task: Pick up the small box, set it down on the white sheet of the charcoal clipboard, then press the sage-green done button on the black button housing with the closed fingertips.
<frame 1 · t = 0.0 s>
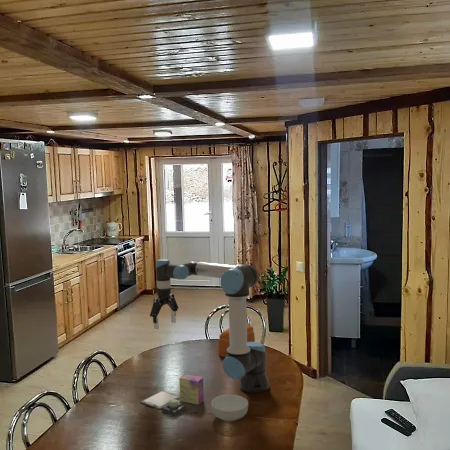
hand: (165, 325, 265), 28 cm above the table, fingers open, 13 cm apart
box: (191, 401, 235), on the table
bread: (236, 351, 303), on the table
cereal bowl: (230, 417, 218), on the table
done button: (173, 403, 224), point 4 cm above the table, slide at 0.0 cm
button housing: (174, 411, 225), on the table
clipboard: (161, 400, 236), on the table
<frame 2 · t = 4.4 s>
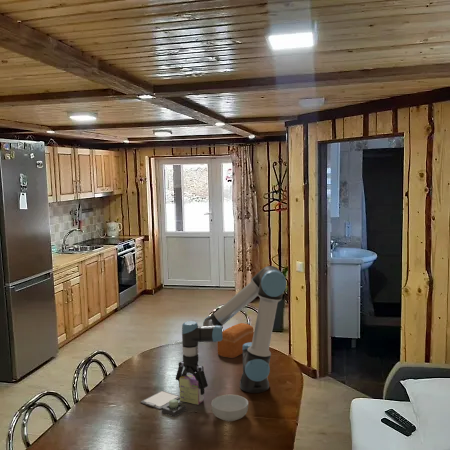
hand: (191, 397, 235), 2 cm above the table, fingers closed on box, 11 cm apart
box: (191, 401, 235), on the table, touching gripper
everything else where it was.
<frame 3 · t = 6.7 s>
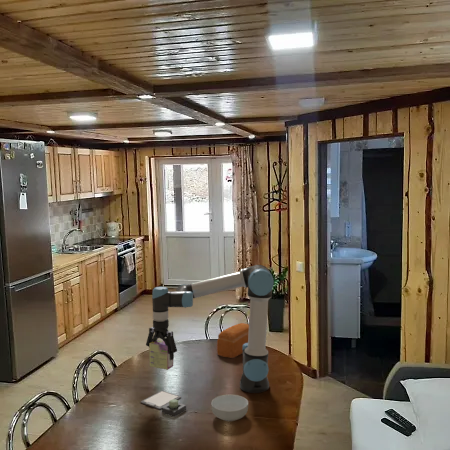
hand: (161, 363, 235), 19 cm above the table, fingers closed on box, 11 cm apart
box: (161, 366, 235), point 17 cm above the table, touching gripper
everything else where it was.
when the fingers open (4 cm above the table, at t = 9.0 s): box drops 2 cm, resting on clipboard.
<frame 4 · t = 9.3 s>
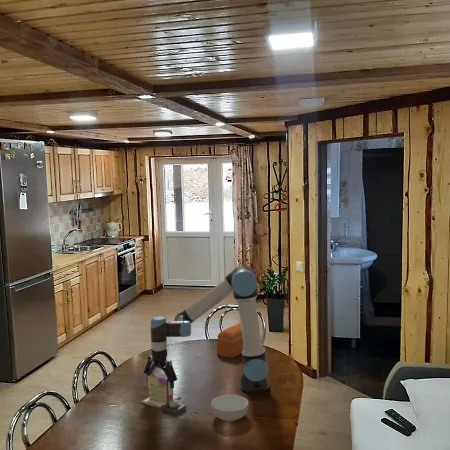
hand: (160, 391, 236), 5 cm above the table, fingers open, 13 cm apart
box: (161, 399, 236), point 1 cm above the table, touching clipboard
everything else where it was.
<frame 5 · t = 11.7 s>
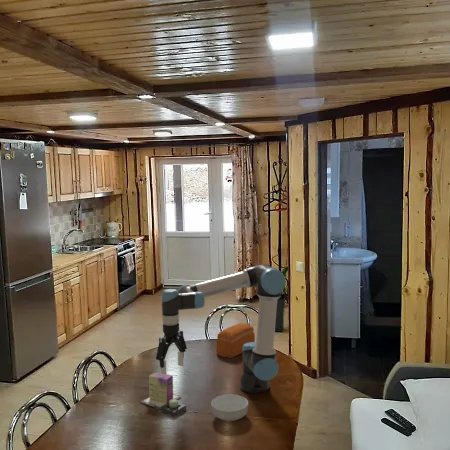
hand: (172, 369, 223), 20 cm above the table, fingers open, 11 cm apart
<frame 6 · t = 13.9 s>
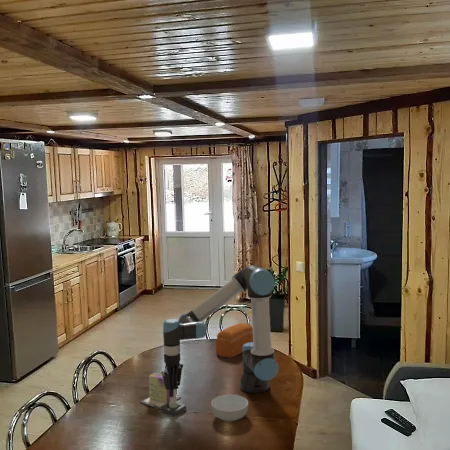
hand: (173, 402, 224), 4 cm above the table, fingers closed
done button: (173, 405, 224), point 3 cm above the table, slide at 0.8 cm, touching gripper
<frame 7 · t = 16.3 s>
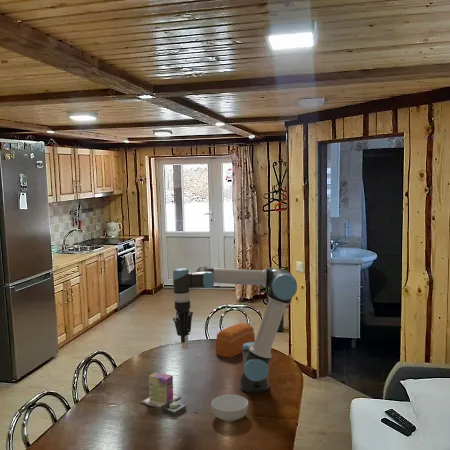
hand: (184, 348, 234), 26 cm above the table, fingers closed
done button: (173, 406, 224), point 2 cm above the table, slide at 1.4 cm
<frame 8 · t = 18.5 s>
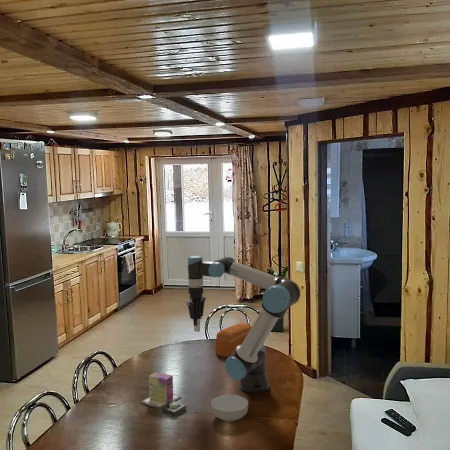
hand: (197, 331, 249), 29 cm above the table, fingers closed
at the end: box inside the target area on the clipboard (0.3 cm from its centre), point 0.6 cm above the clipboard's base; box tilted 0°; done button slide at 1.4 cm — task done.
